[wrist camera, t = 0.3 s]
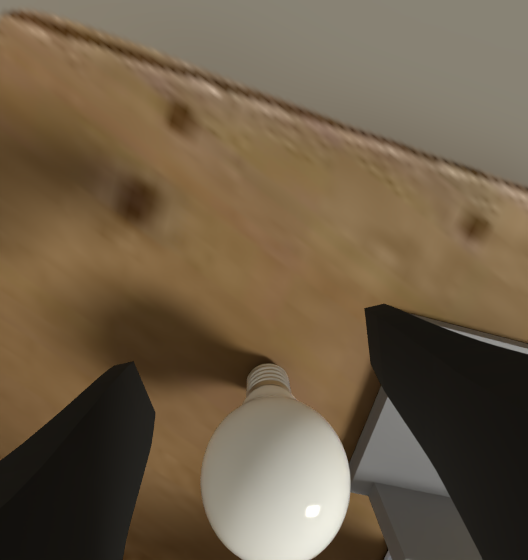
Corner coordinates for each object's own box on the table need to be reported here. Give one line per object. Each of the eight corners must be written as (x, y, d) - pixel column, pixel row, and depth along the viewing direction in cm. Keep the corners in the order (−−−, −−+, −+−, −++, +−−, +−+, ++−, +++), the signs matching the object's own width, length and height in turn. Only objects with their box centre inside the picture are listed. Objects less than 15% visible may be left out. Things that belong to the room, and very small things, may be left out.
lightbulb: (199, 388, 23) (153, 568, 12) (254, 313, 21) (257, 440, 11) (278, 433, 24) (300, 635, 13) (335, 364, 22) (409, 526, 12)
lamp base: (526, 516, 27) (606, 613, 21) (342, 479, 25) (370, 572, 19) (616, 366, 23) (743, 430, 17) (410, 313, 22) (470, 363, 16)
